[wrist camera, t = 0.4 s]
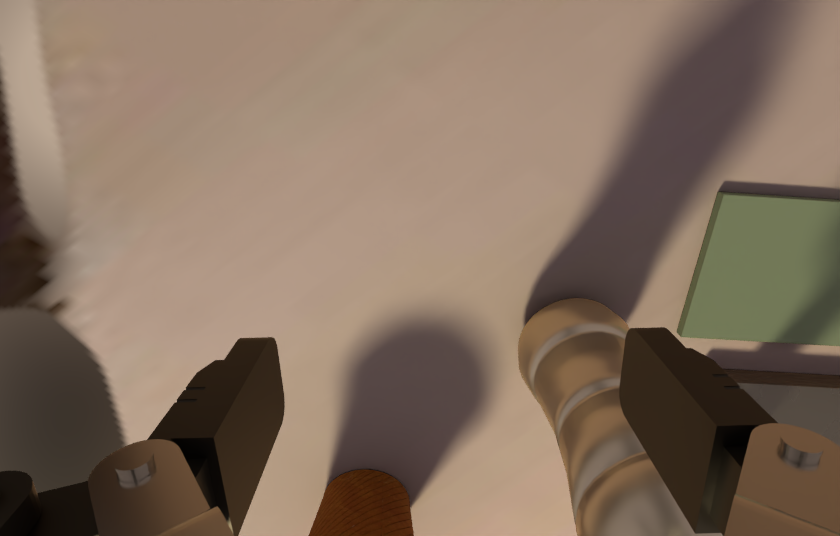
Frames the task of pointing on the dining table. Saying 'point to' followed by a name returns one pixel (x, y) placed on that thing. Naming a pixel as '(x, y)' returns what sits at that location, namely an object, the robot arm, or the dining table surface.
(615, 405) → the plastic bottle
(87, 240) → the dining table surface
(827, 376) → the rail stand
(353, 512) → the disposable coffee cup
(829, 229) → the rubber mat
